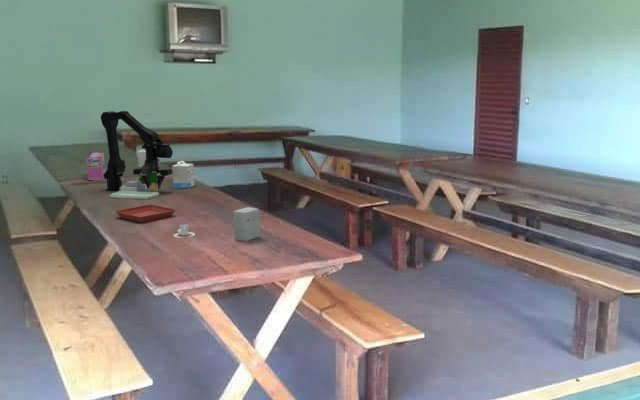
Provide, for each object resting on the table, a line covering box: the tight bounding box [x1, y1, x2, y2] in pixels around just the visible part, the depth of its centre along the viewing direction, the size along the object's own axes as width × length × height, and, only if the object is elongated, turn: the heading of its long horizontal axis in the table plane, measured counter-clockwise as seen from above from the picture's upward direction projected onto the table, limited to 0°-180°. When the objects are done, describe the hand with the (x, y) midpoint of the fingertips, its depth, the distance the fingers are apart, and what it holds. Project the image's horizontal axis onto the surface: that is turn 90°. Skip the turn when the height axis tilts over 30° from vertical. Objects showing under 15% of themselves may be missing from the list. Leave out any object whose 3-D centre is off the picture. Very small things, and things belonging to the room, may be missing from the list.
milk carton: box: [135, 149, 158, 186], centre depth 340 cm, size 9×9×20 cm
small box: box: [233, 206, 261, 242], centre depth 230 cm, size 8×6×10 cm
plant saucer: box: [114, 204, 177, 223], centre depth 265 cm, size 18×18×3 cm
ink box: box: [171, 160, 195, 189], centre depth 331 cm, size 9×8×13 cm
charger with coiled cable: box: [172, 224, 196, 239], centre depth 236 cm, size 9×8×4 cm
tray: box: [108, 190, 160, 201], centre depth 307 cm, size 21×10×2 cm, turn 77°
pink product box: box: [85, 151, 106, 181], centre depth 363 cm, size 24×8×14 cm, turn 14°
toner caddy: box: [125, 180, 158, 192], centre depth 319 cm, size 15×5×5 cm, turn 77°
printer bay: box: [119, 184, 147, 192], centre depth 321 cm, size 9×10×3 cm
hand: (153, 188), depth 318 cm, fingers open, 5 cm apart
